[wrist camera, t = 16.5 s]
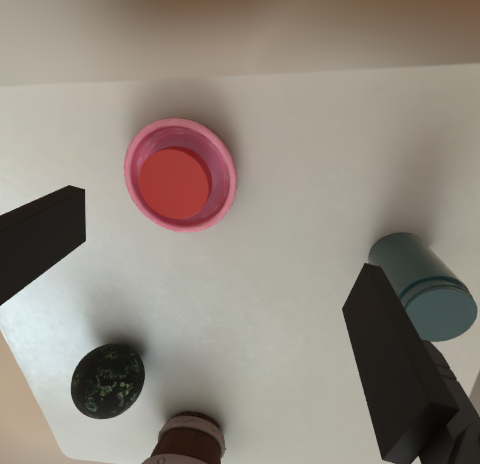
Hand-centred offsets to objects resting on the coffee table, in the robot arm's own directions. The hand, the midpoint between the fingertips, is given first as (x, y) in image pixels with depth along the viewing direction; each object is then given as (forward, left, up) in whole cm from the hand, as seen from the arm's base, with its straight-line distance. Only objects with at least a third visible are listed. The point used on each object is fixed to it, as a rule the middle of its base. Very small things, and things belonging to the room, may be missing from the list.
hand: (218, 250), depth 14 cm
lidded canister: (-4, +21, -21) cm, 30 cm away
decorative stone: (+37, +7, -22) cm, 44 cm away
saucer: (+7, -4, -22) cm, 23 cm away
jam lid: (+7, -4, -17) cm, 18 cm away
